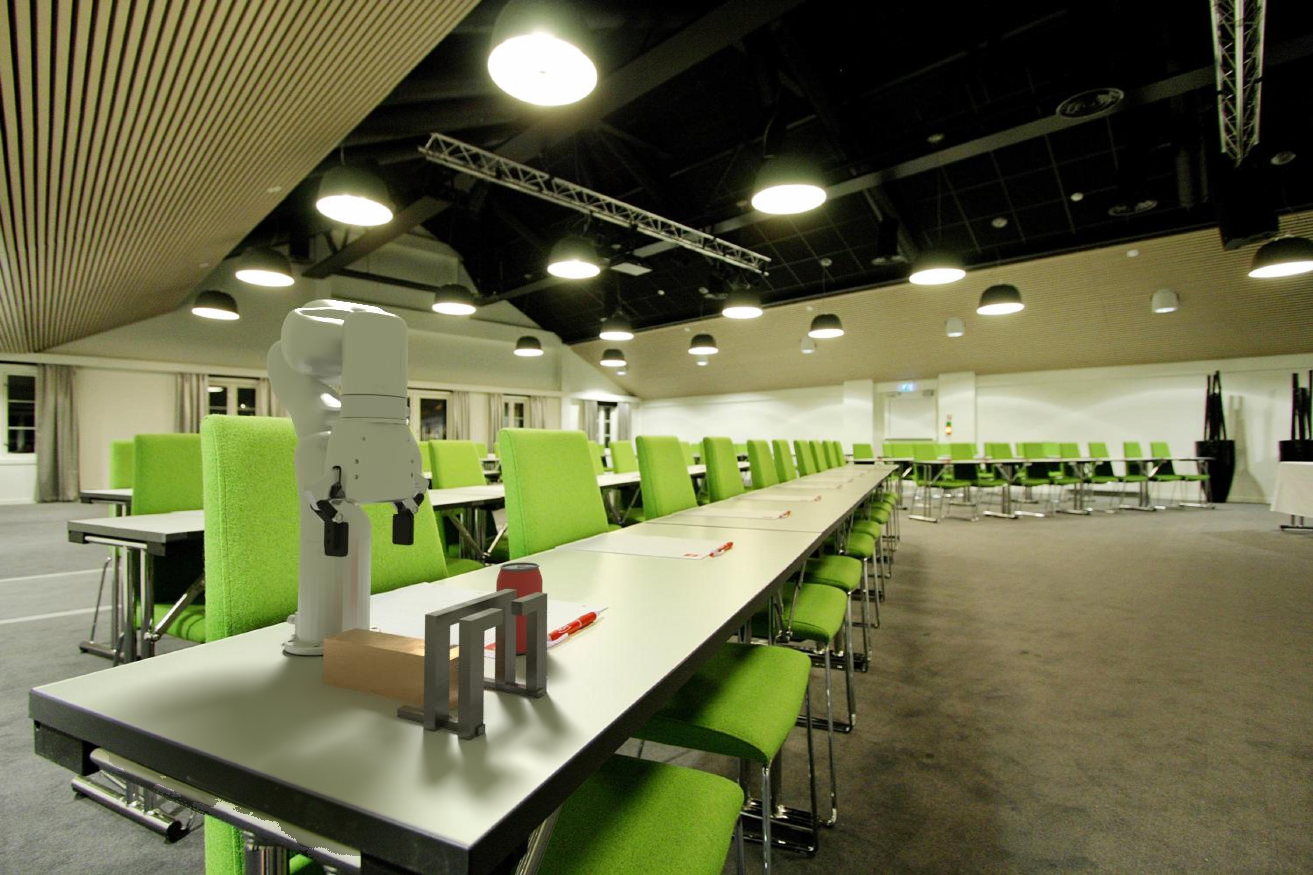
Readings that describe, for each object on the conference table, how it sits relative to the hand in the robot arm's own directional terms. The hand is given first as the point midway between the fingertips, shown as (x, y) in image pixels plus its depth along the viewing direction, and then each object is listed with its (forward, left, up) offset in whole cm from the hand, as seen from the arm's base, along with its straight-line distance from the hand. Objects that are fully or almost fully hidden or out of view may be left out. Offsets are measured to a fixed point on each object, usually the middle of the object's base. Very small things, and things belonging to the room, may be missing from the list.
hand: (371, 549), depth 72 cm
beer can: (+9, +18, -16) cm, 26 cm away
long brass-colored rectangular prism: (+5, 0, -16) cm, 17 cm away
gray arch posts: (+16, 0, -16) cm, 23 cm away
